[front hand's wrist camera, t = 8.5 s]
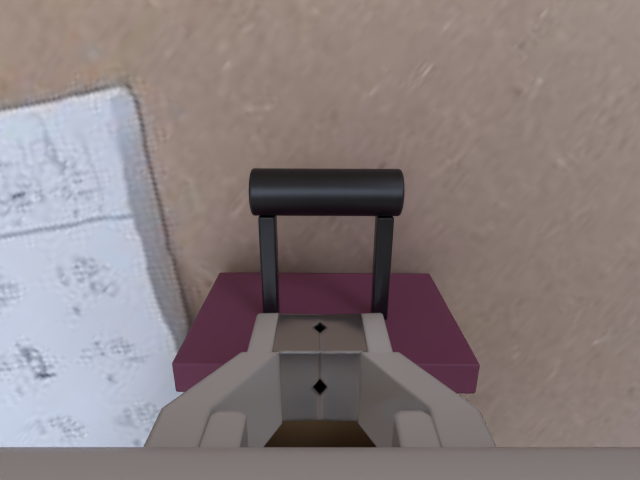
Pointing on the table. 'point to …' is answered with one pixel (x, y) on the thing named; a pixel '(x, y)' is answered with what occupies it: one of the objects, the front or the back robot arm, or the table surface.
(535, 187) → the table surface
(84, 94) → the table surface
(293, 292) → the drawer
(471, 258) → the table surface
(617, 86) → the table surface
